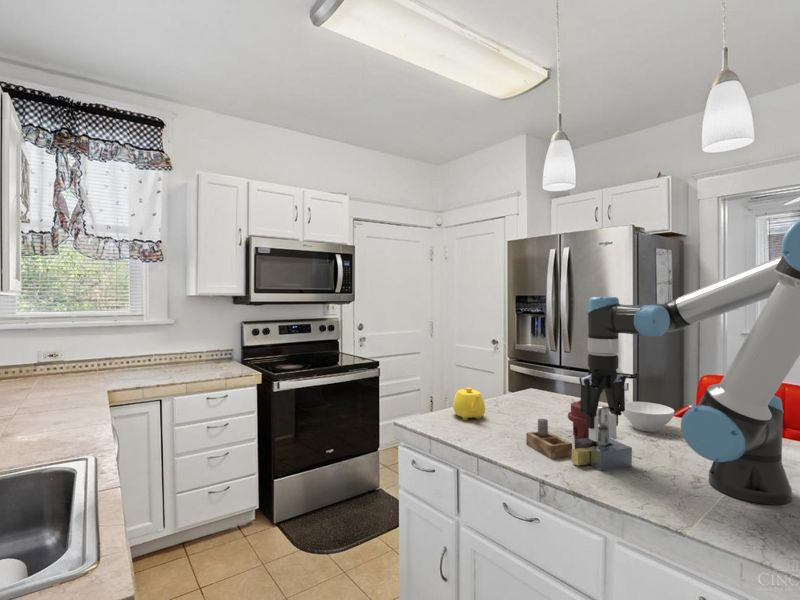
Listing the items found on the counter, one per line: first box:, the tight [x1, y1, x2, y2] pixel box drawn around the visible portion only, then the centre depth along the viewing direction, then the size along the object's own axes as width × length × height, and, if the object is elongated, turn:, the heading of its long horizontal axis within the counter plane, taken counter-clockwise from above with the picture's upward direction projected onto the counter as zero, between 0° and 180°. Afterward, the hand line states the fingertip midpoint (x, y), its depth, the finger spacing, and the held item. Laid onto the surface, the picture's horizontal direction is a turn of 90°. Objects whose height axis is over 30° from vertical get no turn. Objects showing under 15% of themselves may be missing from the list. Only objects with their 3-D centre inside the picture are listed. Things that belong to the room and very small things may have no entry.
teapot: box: [452, 387, 486, 421], centre depth 162 cm, size 18×11×11 cm, turn 13°
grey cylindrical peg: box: [596, 405, 610, 447], centre depth 119 cm, size 3×3×15 cm
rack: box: [525, 418, 573, 460], centre depth 128 cm, size 12×7×8 cm, turn 17°
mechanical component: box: [567, 399, 600, 440], centre depth 136 cm, size 12×10×10 cm
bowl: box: [622, 401, 675, 433], centre depth 148 cm, size 16×16×7 cm
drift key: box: [571, 447, 591, 466], centre depth 118 cm, size 2×7×4 cm, turn 107°
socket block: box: [574, 437, 633, 472], centre depth 120 cm, size 10×10×5 cm
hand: (602, 438), depth 119 cm, fingers open, 5 cm apart
